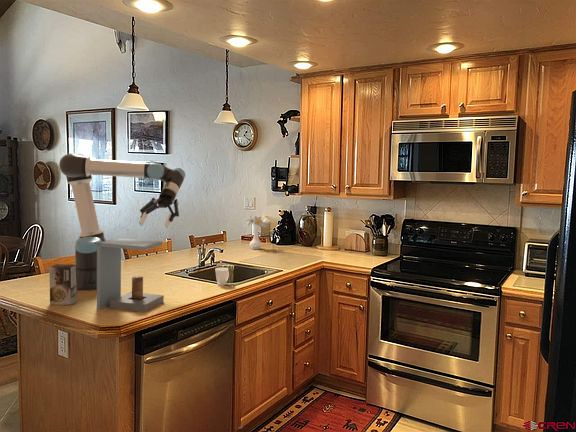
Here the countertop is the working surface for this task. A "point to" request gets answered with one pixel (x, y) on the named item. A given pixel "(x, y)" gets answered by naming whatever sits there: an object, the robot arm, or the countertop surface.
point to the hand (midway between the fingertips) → (153, 225)
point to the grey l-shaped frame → (114, 266)
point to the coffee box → (63, 284)
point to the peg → (137, 288)
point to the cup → (222, 275)
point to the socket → (136, 302)
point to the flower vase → (256, 231)
